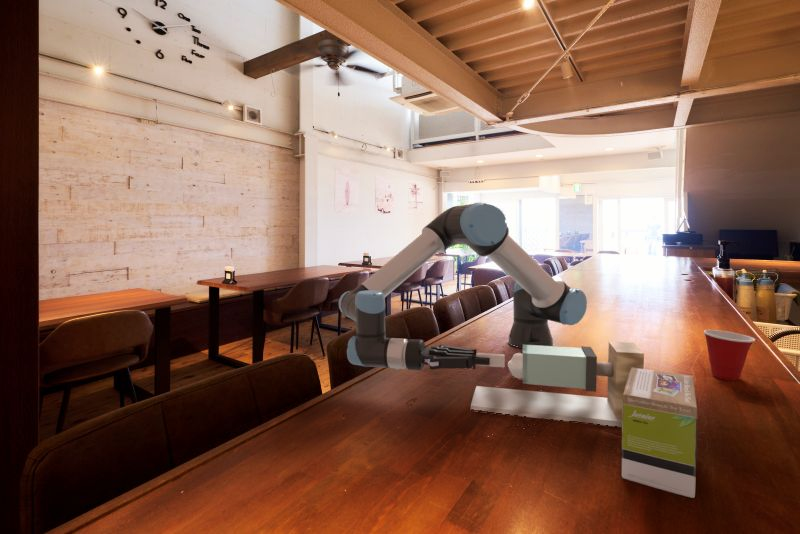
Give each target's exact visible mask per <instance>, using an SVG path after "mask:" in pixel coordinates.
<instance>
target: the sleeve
mask: <svg viewBox="0 0 800 534" xmlns="http://www.w3.org/2000/svg"><path fill="white" fill-rule="evenodd" d="M522 354H523V367H522V378H523V379H522V384H525V385H535V386H546V387H547V386H548V387H556V388H557V387H558V388H559V387H560V388H571V389H582V390H583V389H584V390H585V389H586V356H585V354H584V352H583V350H582V348H581V347H573V346H572V347H571V346H557V345H556V346H554V345H553V346H539V345H523V348H522Z"/></svg>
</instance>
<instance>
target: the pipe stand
mask: <svg viewBox="0 0 800 534" xmlns="http://www.w3.org/2000/svg"><path fill="white" fill-rule="evenodd" d="M607 359H608V361H607V362H606V361H605V362H604V361H597V376H596V377H607V393H606V394H607V397H602V396H601V397H600V396H592V395H591V396H590V395H578V394H569V393H557V392H546V391H536V390H525V389H514V388H513V389H512V388H504V387H503V388H501V387H490V386H481V385H480V386H479V385H476V387H475V390H474V392H473V396H472V400H471V403H470V410H471V409H474V410H482V411H488V412H495V413H494V414H496V413H502V414H501V415H505V414H510V415H509V416H514V415H518V416H517V417H524V416H526V418H535V419H542V418H543V420H551V419H553V421H560V420H563V421H562V422H569V421H578V422H586V423H585V424H588V423H593V424H592V425H597V424H600V425H599V426H606V425H608V427H615V426H617V427H616V428H622V399H623V393H624V389H625V386H626V383H627V380H628V376H629V373H630V370H631V368H632V367H633V368H639V369H645V353H644V351H642V350H641V349H640V347H638V346H637V345H636V344H635V342H626V341H625V342H620V341H608V358H607ZM578 422H577V423H578Z"/></svg>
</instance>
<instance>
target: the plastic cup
mask: <svg viewBox="0 0 800 534" xmlns="http://www.w3.org/2000/svg"><path fill="white" fill-rule="evenodd" d="M703 333H704V337H705V341H706V344H707V346H706V347H707V354H708V361H709V364H710V370H711V372H710V373H711V374H712V376H713V377H714V378H717V379H721V380H725V381H735V380H736V381H739V380H740V378H741V376H742V372H743V369H744V366H745V362H746V360H747V356H748V353H749V350H750V348H751V346H752V345H753V343H754V342H755V341H756V338H754V337H753V336H750V335H746V334H741V333H737V332H732V331H726V330H720V329H719V330H717V329H704V330H703Z"/></svg>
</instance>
